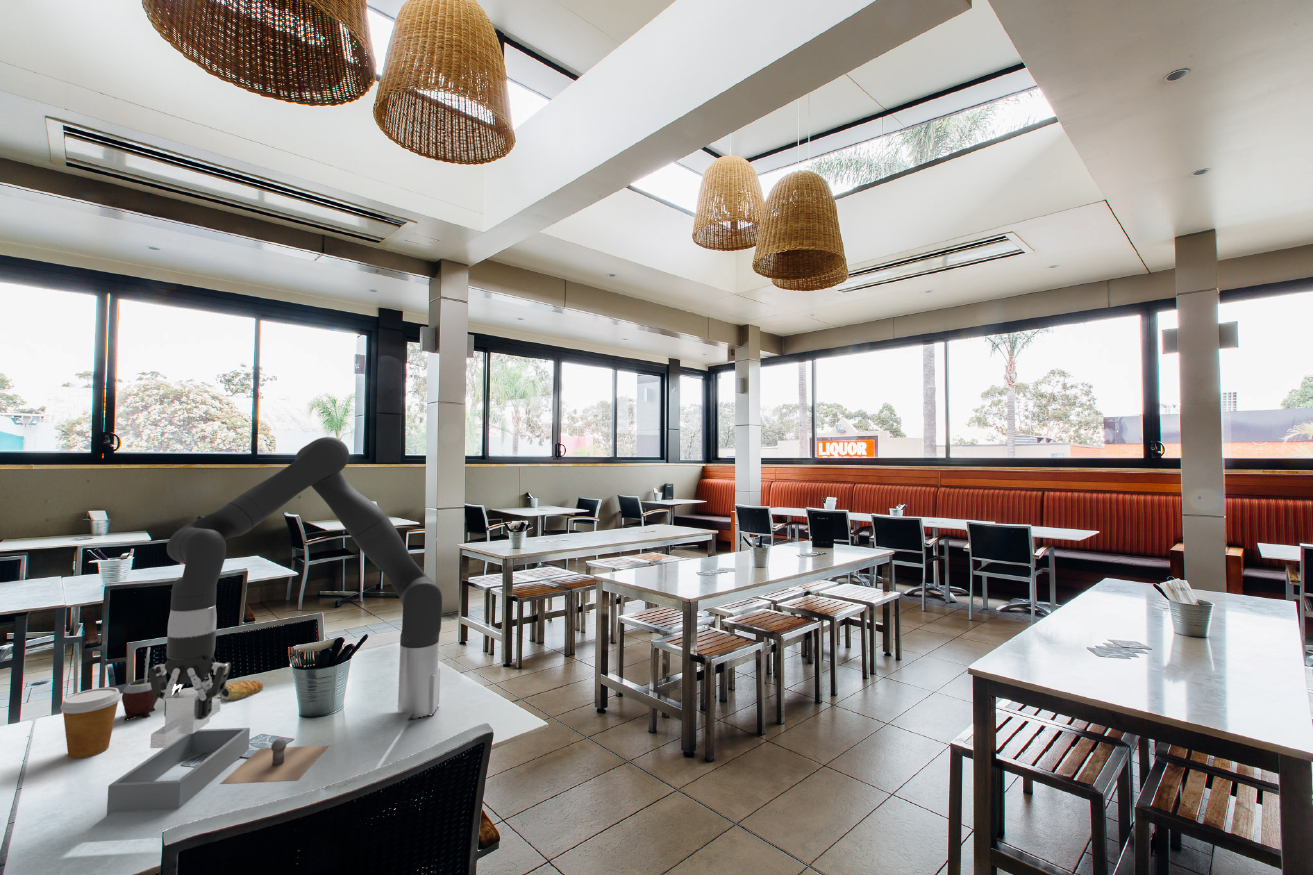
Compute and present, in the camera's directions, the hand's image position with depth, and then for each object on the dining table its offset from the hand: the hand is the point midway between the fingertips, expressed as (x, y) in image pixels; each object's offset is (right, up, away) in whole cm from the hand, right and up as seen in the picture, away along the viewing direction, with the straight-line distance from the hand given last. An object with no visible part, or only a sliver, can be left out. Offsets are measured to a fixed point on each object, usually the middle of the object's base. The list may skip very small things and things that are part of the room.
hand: (187, 717), depth 114 cm
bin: (0, -13, -1) cm, 13 cm away
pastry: (-21, -15, +43) cm, 50 cm away
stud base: (+14, -13, +5) cm, 20 cm away
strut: (0, -2, 0) cm, 2 cm away
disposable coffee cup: (-31, -13, +12) cm, 35 cm away
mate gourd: (-36, -14, +30) cm, 49 cm away
